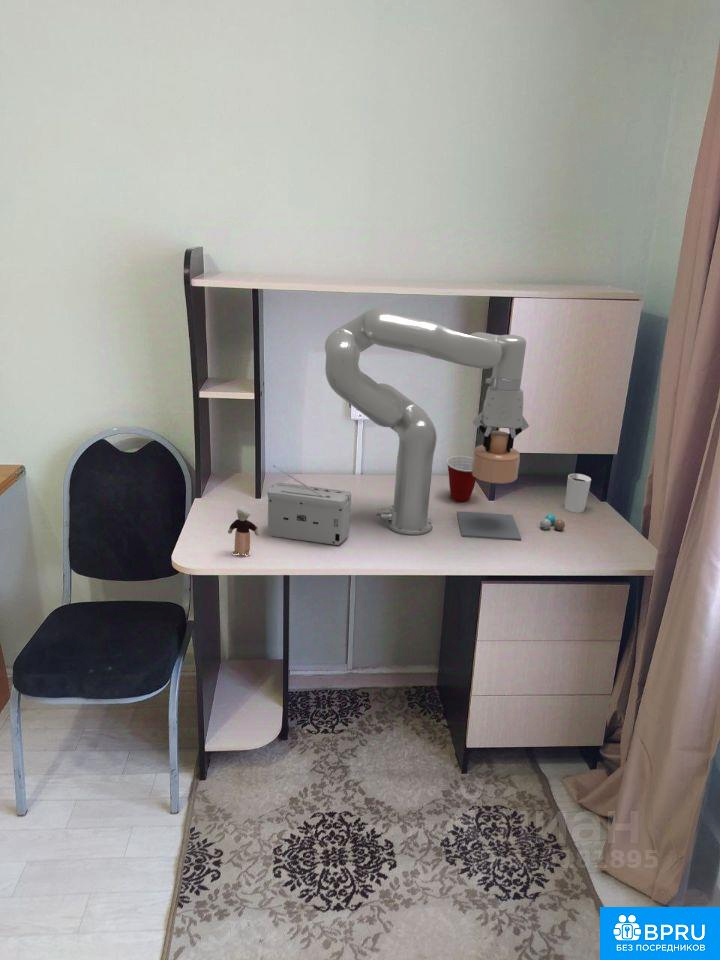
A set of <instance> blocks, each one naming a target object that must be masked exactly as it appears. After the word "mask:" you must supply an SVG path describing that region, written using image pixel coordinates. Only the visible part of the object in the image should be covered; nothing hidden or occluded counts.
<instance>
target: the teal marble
mask: <svg viewBox="0 0 720 960" xmlns="http://www.w3.org/2000/svg"><path fill="white" fill-rule="evenodd" d="M545 518H546V519H549V520H550V521H551V526H552V525H554V522H555V521H556V520H557V518H556V517H555V515H554V514H552V513H549V514H547V515H545V517H544V519H545Z"/></svg>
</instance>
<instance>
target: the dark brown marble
mask: <svg viewBox="0 0 720 960" xmlns="http://www.w3.org/2000/svg"><path fill="white" fill-rule="evenodd" d="M553 527H554V528H555V530H558V531H562V530H564V529H565V527H566V523H565V521H564V520H563V519H556V521H555V522H554V524H553Z"/></svg>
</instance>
